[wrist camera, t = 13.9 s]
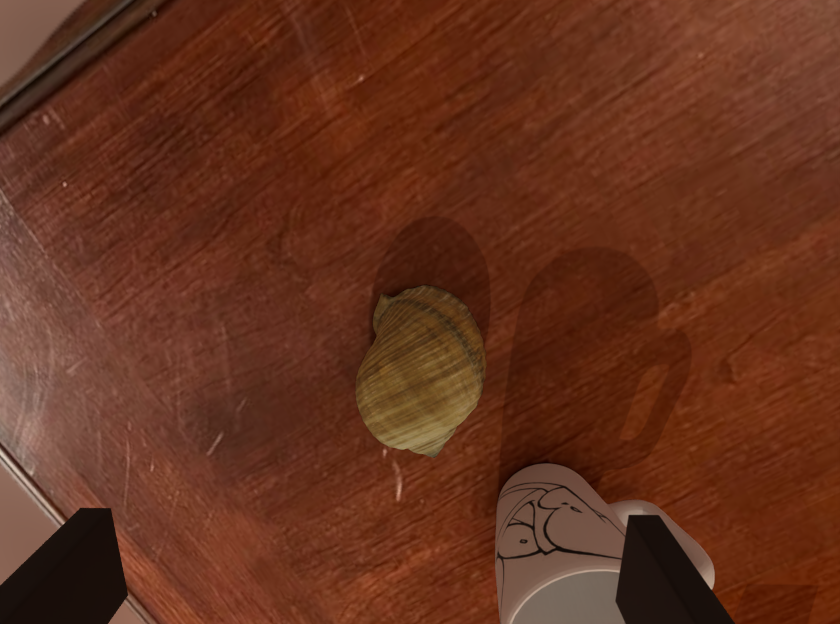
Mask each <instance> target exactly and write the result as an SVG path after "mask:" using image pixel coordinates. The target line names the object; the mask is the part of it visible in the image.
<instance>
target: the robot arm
mask: <svg viewBox="0 0 840 624" xmlns="http://www.w3.org/2000/svg"><path fill="white" fill-rule="evenodd" d="M127 596H128V592H127V587H126V582H125V577H124V572H123V567H122V562H121V557H120V552H119V547H118V542H117V537H116V532H115V527H114V522H113V517H112V512H111V508H80V509H79V510H78V511H77V512H76V513H75V514H74V515H73V516H72V517H71V518H70V519H69V520H68V521H67V522H66V523H65V524H64V525H62V526H61V527H60V528H59V529H58V530H57V531H56V532H55V533H54V534H53V535H52V536H51V537H50V538H49V539H48V540H47V541H46V542H45V543H44V544H43V545H42V546H41V547H40V548H39V549H38V550H37V551H36V552H35V553H34V554H32V555H31V556H30V557H29V558H28V559H27V560H26V561H25V562H24V563H23V564H22V565H21V566H20V567H19V568H18V569H17V570H16V571H15V572H14V573H13V574H12V575H11V576H10V577H9V578H8V579H7V580H6V581H4V582H3V584H2V585H0V624H108V623H109V621H110V620H111V618H112V617H113V616H114V614H115V613H116V611H117V610H118V609H119V607H120V606H121V604H122V603H123V601H124V600H125V599H126V597H127ZM615 602H616V604H617V606H618V608H619V611H620V613H621V615H622V617H623V619H624V622H625V624H735V623H734V622H733V620H732V619H731V617H730V616H729V614H728V613H727V612H726V610H725V609H724V607H723V606H722V604H721V603H720V602H719V600H718V599H717V597H716V596H715V594H714V593H713V591H712V590H711V589H710V587H709V586H708V584H707V583H706V581H705V580H704V579H703V577H702V576H701V574H700V573H699V571H698V570H697V569H696V567H695V566H694V564H693V563H692V561H691V560H690V559H689V557H688V556H687V554H686V553H685V551H684V550H683V549H682V547H681V546H680V544H679V543H678V541H677V540H676V539H675V537H674V536H673V534H672V533H671V531H670V530H669V529H668V527H667V526H666V524H665V523H664V521H663V520H662V519H661V517H660V516H659V515H629V516H628V522H627V528H626V535H625V541H624V548H623V554H622V561H621V567H620V574H619V580H618V587H617V593H616V599H615Z"/></svg>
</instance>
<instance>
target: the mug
mask: <svg viewBox="0 0 840 624" xmlns="http://www.w3.org/2000/svg"><path fill="white" fill-rule="evenodd" d="M629 515H659V516H660V517H661V519H662V520H663V521H664V523H665V524H666V526H667V527H668V529H669V530H670V531H671V533H672V534H673V536H674V537H675V539H676V540H677V541H678V543H679V544H680V546H681V547H682V549H683V550H684V551H685V553H686V554H687V556H688V557H689V559H690V560H691V561H692V563H693V564H694V566H695V567H696V569H697V570H698V571H699V573H700V574H701V576H702V577H703V579H704V580H705V581H706V583H707V584H708V586H709V587H710V589H711V590H712V588H713V586H714V574H715V573H714V566H713V564H712V561H711V559H710V558H709V556H708V555H707V553H706V552H705V551H704V549H703V548H702V547H701V546H700V545H699V544H698V543H697V542H696V541H695V540H694V539H693V538H692V537H690V536H689V535H688V534H687V533H686V532H685V531H684V530H682V529H681V528H680V527H679V526H678V525H677V524H676V523H675V522H674V521H673V520H672V519H671V518H670V517H669V516H668V515H667V514H666V513H665V512H663V511H662V510H661V509H660V508H659V507H657V506H656V505H654V504H652V503H650V502H647V501H643V500H625V501H620V502H616V503H612V504H606V503H605V502H604V501H603V500H602V498H601V497H600V496H599V495H598V494H597V493H596V492H595V491H594V489H593V488H592V487H591V486H590V485H589V484H588V483H587V482H586V481H585V480H584V479H583V478H582V477H581V476H580V475H579V474H577V473H576V472H574V471H573V470H571V469H569V468H567V467H564V466H561V465H557V464H549V463H544V464H536V465H532V466H529V467H526V468H524V469H522V470H520V471H518V472H517V473H515V474H514V475H513V476H512V477H511V478H510V479H509V480H508V481H507V482H506V483H505V485H504V486H503V488H502V490H501V492H500V495H499V499H498V504H497V518H496V543H495V567H496V582H497V593H498V603H499V614H500V624H625V622H624V619H623V617H622V615H621V613H620V611H619V608H618V606H617V604H616V602H615V599H616V593H617V587H618V580H619V574H620V567H621V561H622V554H623V548H624V541H625V535H626V526H627V522H628V516H629Z"/></svg>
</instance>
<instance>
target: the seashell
mask: <svg viewBox="0 0 840 624" xmlns="http://www.w3.org/2000/svg"><path fill="white" fill-rule="evenodd" d="M373 329H374V331H375V333H376V335H377V337H376V339H375V341H374V343H373V345H372V346H371V348H370V349H369V350H368V352H367V354H366V356H365V358H364V359H363V361H362V364H361V366H360V368H359V371H358V374H357V377H356V389H355V391H356V400H357V406H358V408H359V413H360V415H361V416H362V420H363V422H364V423H365V424H366V426H367V428H368V429H369V430H370V431H371V433H372V434H373V436H374V437H376V438H377V439H378V440H379V441H380V442H381V443H383V444H386V445H387V446H389V447H394V448H397V449H401V450H403V449H406V448H408V449H410V450H411V451H413V452H415V453H419V454H425V455H427V456H430V457H433V458H435V457H436V456H437V455H438V453H439V452H440V450H441V449H442V448H443V446H444V444H445V442H446V441H447V440H448V439H449V438H450V437H451V436H452V435H453V434H454V432H455V429H456V427H457V426H458V425H459V424H461V423H462V422H463V421H464V420H465V419H466V418H467V416H468V415H469V414H470V413H471V412H472V410H474V409H475V408H476V406H477V404H478V399H479V397H480V396H481V395H482V392H483V382H484V380H485V377H486V374H485V368H486V365H487V363H486V360H485V356H486V351H485V349H484V347H483V339H482V337H481V333H480V330H479V328H478V327H477V323H476V321H475V320H474V319H473V316H472V314H471V313H470V312H469V310H468V307H467V306H466V305H465V304H464V303H463V302H462V300H460V299H459V298H457V297H455V296H454V295H453V294H451V293H449V292H447V291H446V290H445V289H439V288H438V287H434V286H428V285H423V286H420V287H419V286H417V288H413V289H407V290H405V291H403V292H401V293H400V294H399V295H397V296H395V297H389V296H388V295H383V293H381V294H380V299H379V301H378V304H377V307H376V309H375V312H374V316H373Z"/></svg>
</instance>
